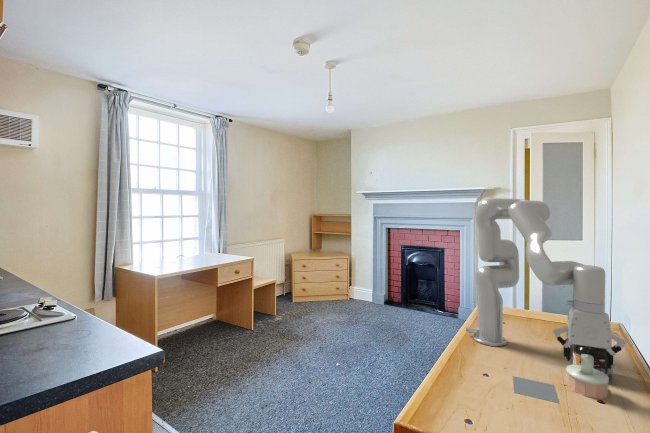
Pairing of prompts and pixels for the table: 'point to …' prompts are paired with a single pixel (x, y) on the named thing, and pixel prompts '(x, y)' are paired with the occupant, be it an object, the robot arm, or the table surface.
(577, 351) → the supplement container
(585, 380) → the lid
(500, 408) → the table surface
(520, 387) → the mat
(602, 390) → the bowl
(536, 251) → the robot arm
